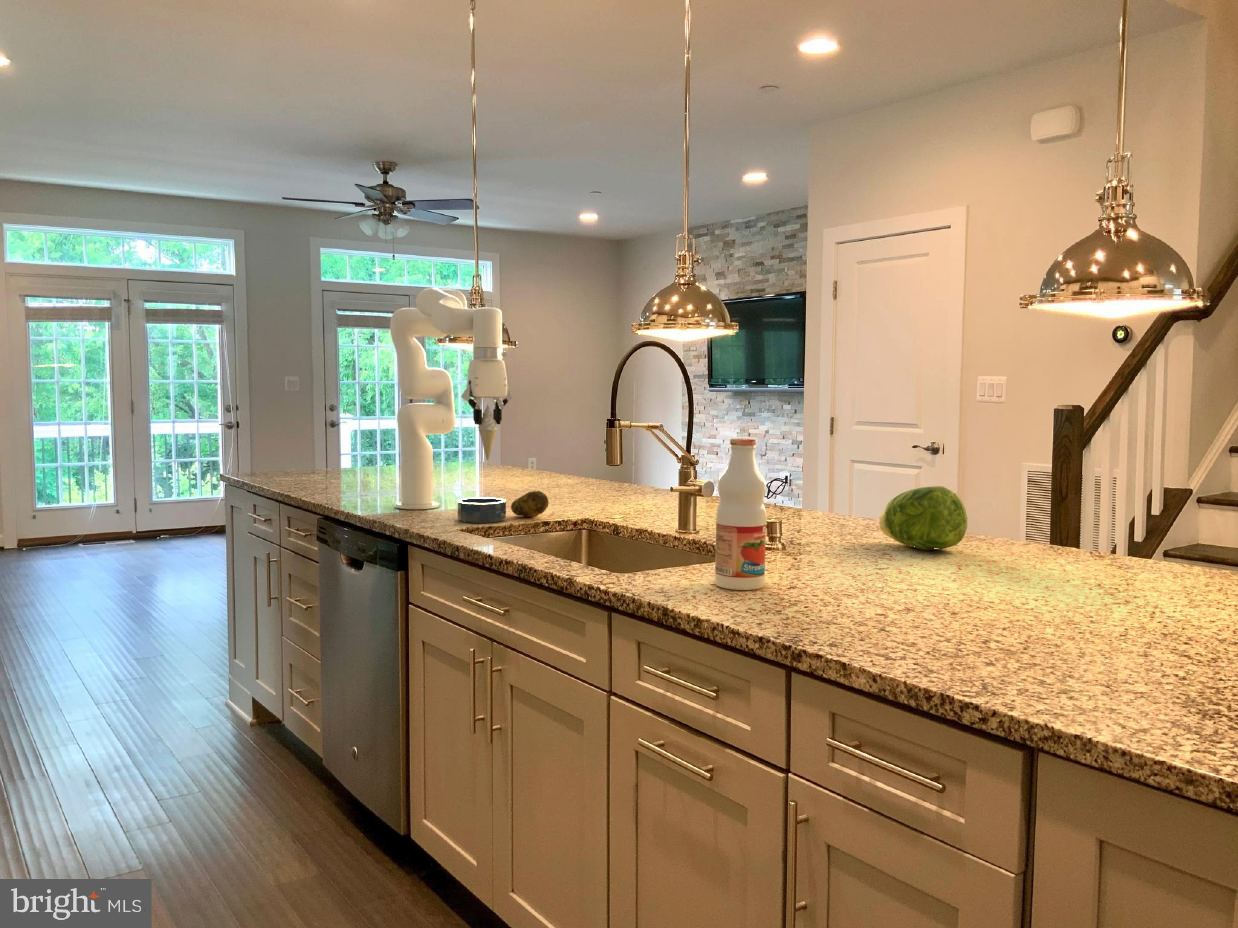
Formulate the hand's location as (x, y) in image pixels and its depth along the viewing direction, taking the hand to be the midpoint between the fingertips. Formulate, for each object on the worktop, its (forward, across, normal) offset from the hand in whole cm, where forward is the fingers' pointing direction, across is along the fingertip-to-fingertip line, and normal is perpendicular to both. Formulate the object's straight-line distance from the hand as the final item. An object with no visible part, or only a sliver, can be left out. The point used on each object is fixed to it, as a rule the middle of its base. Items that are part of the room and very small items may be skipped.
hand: (487, 423), depth 246 cm
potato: (+27, -16, -7) cm, 33 cm away
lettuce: (+27, -75, +81) cm, 114 cm away
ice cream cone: (+10, 0, 0) cm, 10 cm away
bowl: (+27, -2, -9) cm, 29 cm away
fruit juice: (+27, -10, +92) cm, 97 cm away
